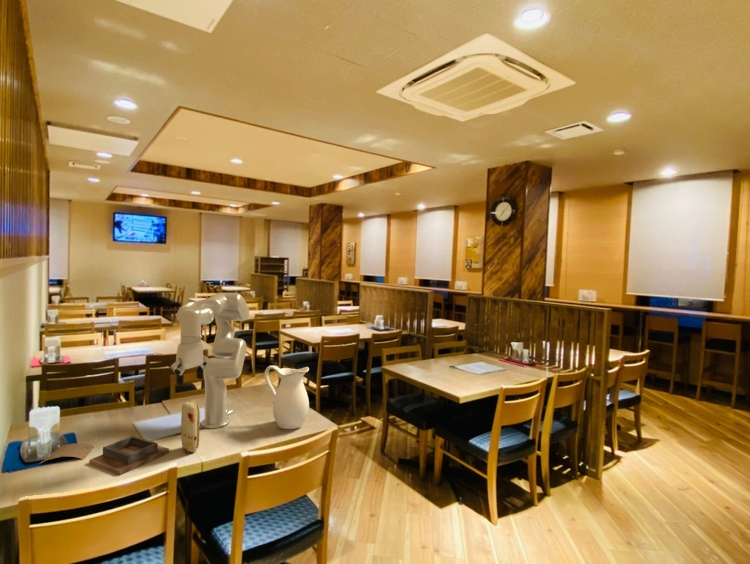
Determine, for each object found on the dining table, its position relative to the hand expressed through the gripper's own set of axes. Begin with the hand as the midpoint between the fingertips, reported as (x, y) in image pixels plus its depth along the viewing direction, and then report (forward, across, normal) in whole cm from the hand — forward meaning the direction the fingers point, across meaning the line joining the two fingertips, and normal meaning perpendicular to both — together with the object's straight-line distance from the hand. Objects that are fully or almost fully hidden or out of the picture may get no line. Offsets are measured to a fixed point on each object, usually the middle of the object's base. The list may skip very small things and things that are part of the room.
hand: (190, 381), depth 164 cm
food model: (+29, -1, 0) cm, 29 cm away
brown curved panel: (+30, +24, -38) cm, 54 cm away
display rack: (+29, +14, -15) cm, 36 cm away
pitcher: (+29, -41, +16) cm, 53 cm away
